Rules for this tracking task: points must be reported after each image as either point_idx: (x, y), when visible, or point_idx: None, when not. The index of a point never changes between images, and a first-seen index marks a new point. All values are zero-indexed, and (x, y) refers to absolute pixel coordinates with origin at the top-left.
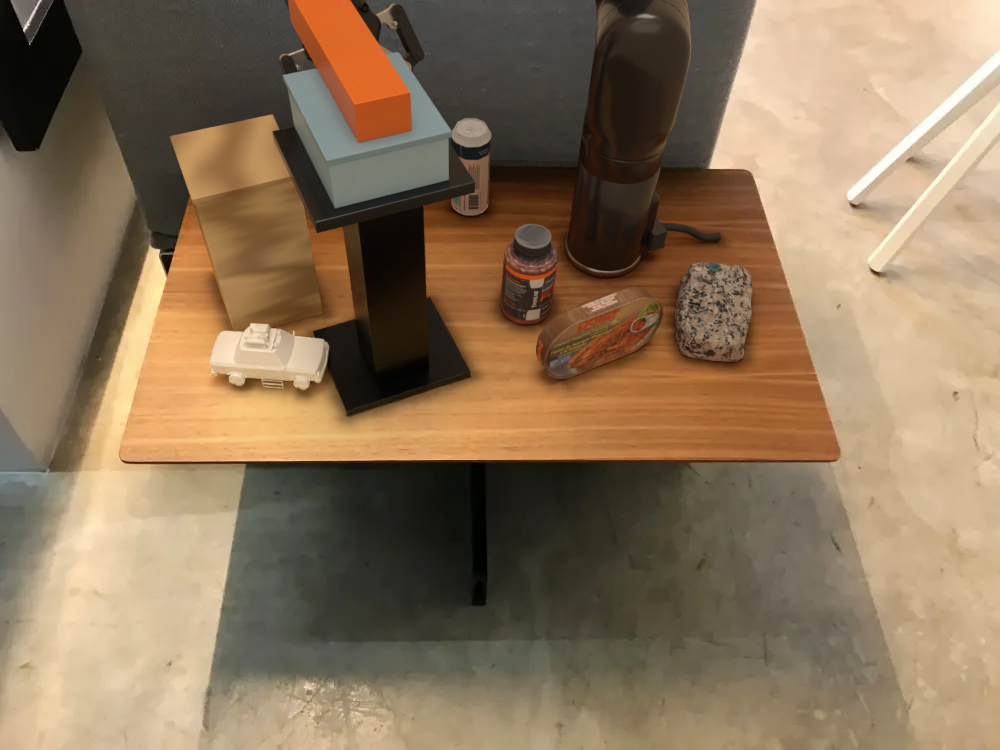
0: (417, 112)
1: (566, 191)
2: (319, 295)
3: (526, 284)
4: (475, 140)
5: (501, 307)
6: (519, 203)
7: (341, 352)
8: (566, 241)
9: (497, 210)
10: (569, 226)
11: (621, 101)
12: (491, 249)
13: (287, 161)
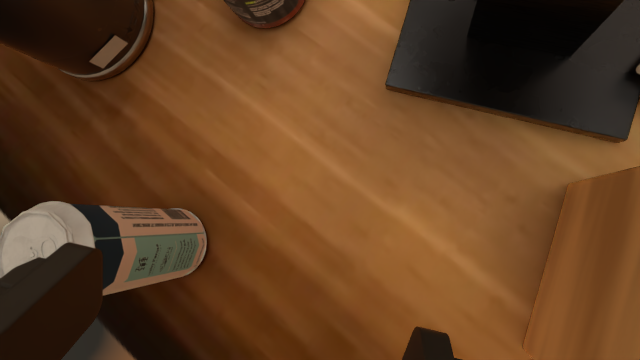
0: None
1: (43, 166)
2: (589, 179)
3: None
4: (58, 213)
5: (302, 2)
6: (115, 192)
7: (608, 62)
8: (125, 56)
9: (152, 202)
10: (101, 32)
11: None
12: (223, 131)
13: None
